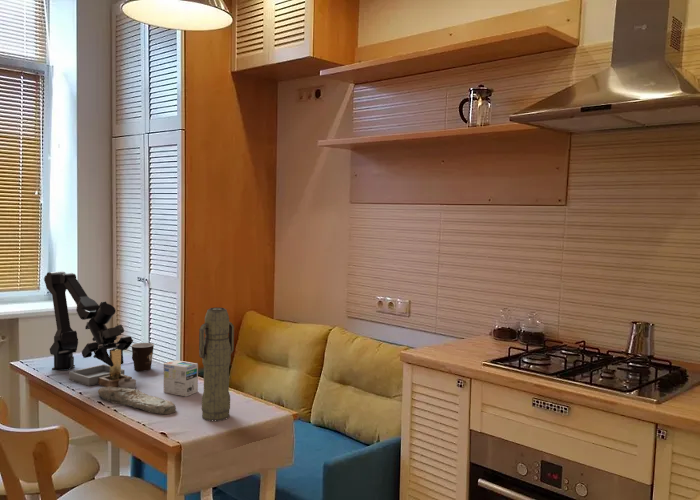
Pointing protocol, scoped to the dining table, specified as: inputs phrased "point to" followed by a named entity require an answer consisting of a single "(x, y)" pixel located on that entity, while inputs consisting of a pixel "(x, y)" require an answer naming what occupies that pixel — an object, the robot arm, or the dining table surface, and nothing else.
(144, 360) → the coffee mug
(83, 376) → the tray
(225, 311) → the headless robed statue
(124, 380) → the brown frame
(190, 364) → the light bulb box
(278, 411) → the dining table surface
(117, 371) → the pin
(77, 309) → the robot arm
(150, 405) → the elongated rock
